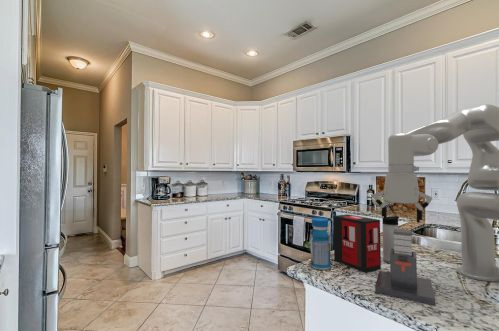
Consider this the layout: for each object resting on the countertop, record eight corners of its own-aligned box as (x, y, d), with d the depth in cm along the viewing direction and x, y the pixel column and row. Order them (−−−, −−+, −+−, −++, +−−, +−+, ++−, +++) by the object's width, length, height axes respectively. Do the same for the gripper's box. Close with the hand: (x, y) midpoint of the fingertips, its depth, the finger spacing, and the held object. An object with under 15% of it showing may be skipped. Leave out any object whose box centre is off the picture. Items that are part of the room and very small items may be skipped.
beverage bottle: (319, 271, 102) (318, 221, 102) (306, 264, 109) (305, 217, 110) (335, 268, 105) (334, 219, 106) (322, 262, 113) (321, 216, 113)
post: (412, 280, 87) (411, 230, 88) (413, 286, 83) (411, 233, 83) (395, 277, 90) (394, 228, 91) (394, 282, 86) (393, 231, 86)
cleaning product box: (380, 269, 104) (379, 219, 105) (366, 273, 100) (365, 221, 101) (348, 257, 119) (347, 214, 119) (334, 260, 115) (333, 215, 115)
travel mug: (402, 264, 109) (401, 217, 110) (385, 263, 110) (384, 217, 111) (397, 259, 115) (396, 215, 116) (381, 259, 116) (380, 214, 117)
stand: (431, 285, 89) (430, 250, 89) (435, 305, 75) (434, 264, 76) (379, 275, 97) (379, 244, 98) (375, 292, 84) (374, 255, 84)
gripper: (430, 170, 86) (431, 221, 86) (374, 170, 95) (374, 216, 95) (432, 169, 80) (433, 225, 79) (371, 169, 89) (371, 219, 88)
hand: (401, 220), depth 87 cm, fingers open, 9 cm apart
